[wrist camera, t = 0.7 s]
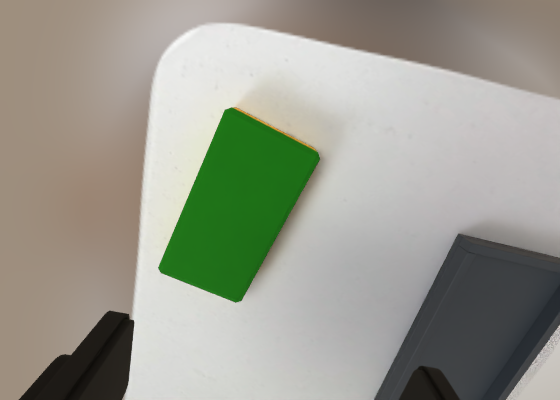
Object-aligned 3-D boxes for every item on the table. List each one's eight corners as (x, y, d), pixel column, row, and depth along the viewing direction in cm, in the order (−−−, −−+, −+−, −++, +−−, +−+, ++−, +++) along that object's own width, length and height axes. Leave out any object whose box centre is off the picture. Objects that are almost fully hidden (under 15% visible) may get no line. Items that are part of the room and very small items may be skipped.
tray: (458, 233, 23) (472, 243, 22) (574, 261, 25) (597, 272, 23) (364, 418, 31) (369, 437, 29) (457, 433, 32) (468, 452, 30)
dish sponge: (167, 256, 24) (155, 272, 21) (232, 105, 20) (226, 104, 17) (242, 286, 25) (239, 305, 22) (317, 149, 21) (322, 155, 19)
